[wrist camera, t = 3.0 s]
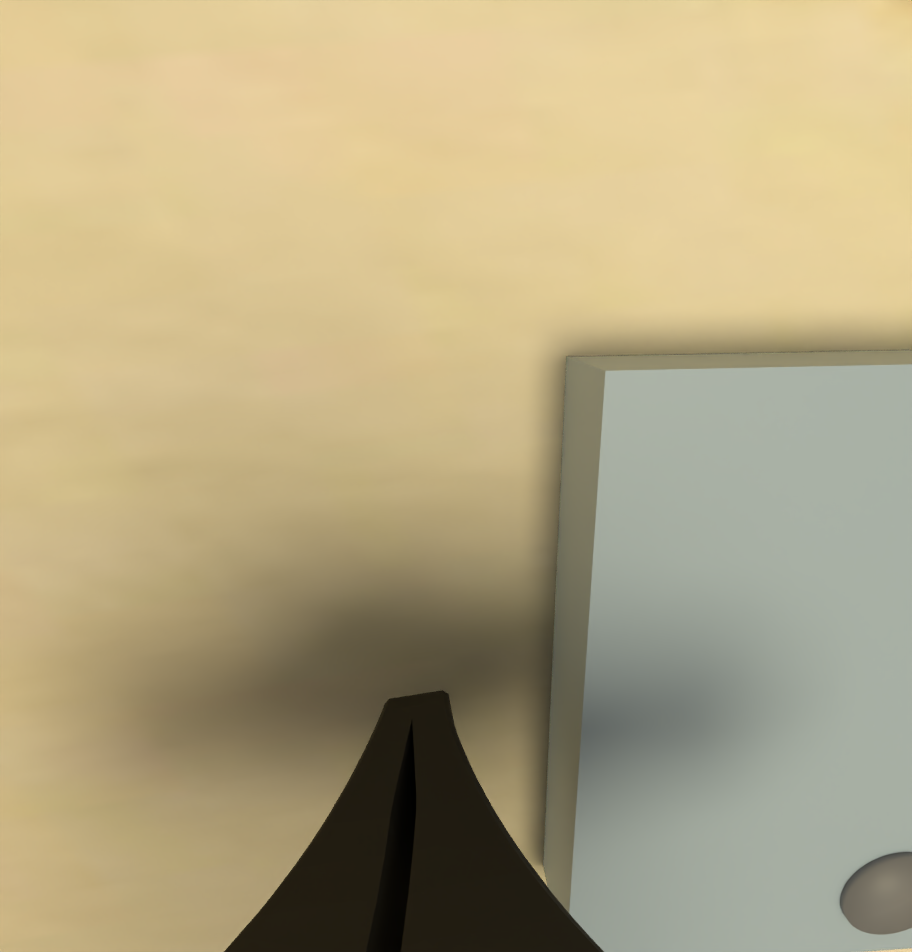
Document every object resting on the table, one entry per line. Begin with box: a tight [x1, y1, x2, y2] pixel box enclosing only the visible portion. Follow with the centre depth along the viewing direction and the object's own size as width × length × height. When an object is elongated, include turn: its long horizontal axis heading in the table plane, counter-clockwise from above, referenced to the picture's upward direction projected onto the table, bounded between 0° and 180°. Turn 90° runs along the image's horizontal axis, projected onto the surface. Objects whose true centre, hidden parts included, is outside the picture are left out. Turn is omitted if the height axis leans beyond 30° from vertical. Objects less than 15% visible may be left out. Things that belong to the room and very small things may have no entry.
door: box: [543, 350, 912, 952], centre depth 12 cm, size 14×9×3 cm, turn 1°
